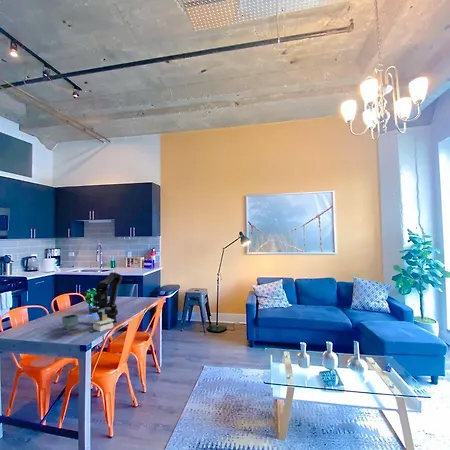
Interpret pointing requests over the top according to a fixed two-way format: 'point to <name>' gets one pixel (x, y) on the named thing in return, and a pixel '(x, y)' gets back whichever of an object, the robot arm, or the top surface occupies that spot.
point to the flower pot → (70, 321)
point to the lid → (103, 320)
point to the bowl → (103, 326)
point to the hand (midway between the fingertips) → (103, 319)
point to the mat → (80, 331)
